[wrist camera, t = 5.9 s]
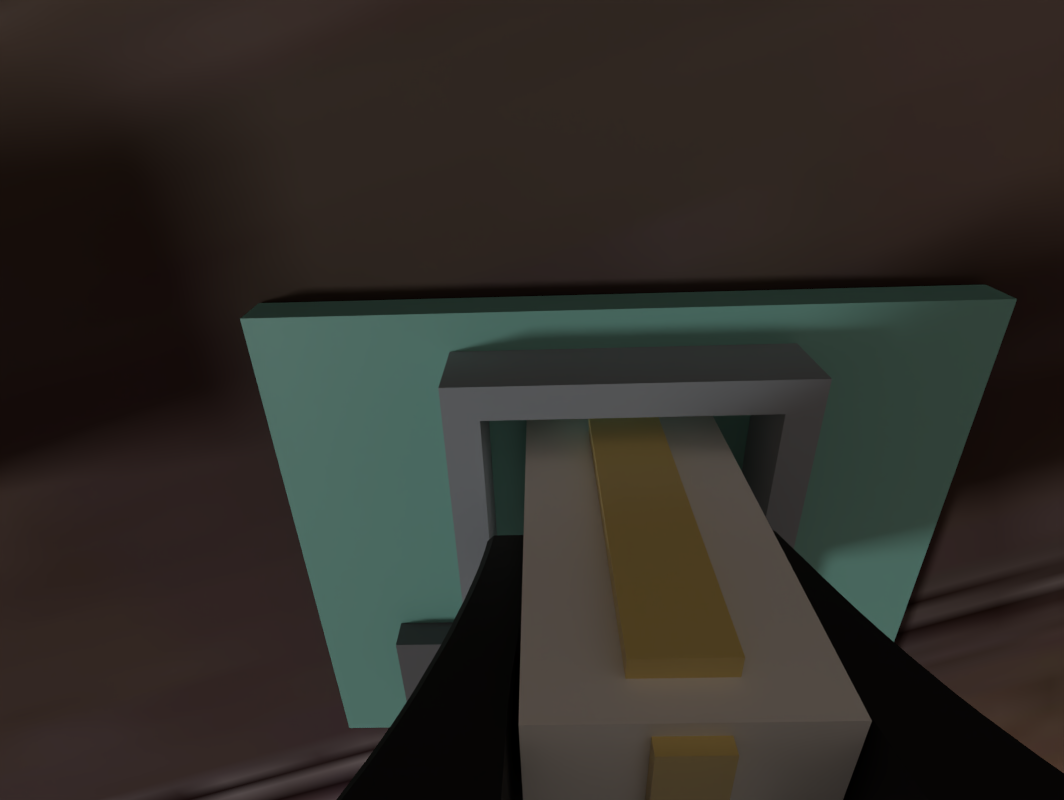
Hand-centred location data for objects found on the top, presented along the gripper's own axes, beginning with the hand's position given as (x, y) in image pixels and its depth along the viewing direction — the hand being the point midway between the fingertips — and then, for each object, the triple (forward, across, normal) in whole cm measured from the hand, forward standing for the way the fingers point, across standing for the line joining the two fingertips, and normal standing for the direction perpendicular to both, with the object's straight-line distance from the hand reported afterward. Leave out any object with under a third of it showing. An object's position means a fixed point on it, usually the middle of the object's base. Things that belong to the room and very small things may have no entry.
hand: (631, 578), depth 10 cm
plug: (+2, 0, 0) cm, 2 cm away
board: (+3, 0, +2) cm, 3 cm away
